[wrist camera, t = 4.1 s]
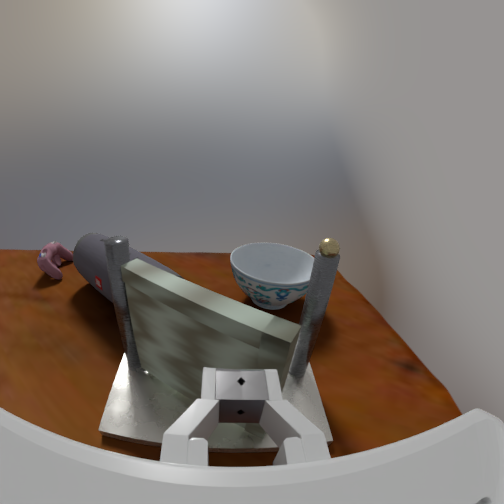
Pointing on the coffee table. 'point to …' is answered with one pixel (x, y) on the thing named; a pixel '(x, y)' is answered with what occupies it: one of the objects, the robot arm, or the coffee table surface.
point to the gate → (201, 332)
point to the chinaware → (272, 273)
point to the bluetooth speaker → (102, 262)
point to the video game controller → (53, 259)
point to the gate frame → (175, 404)
